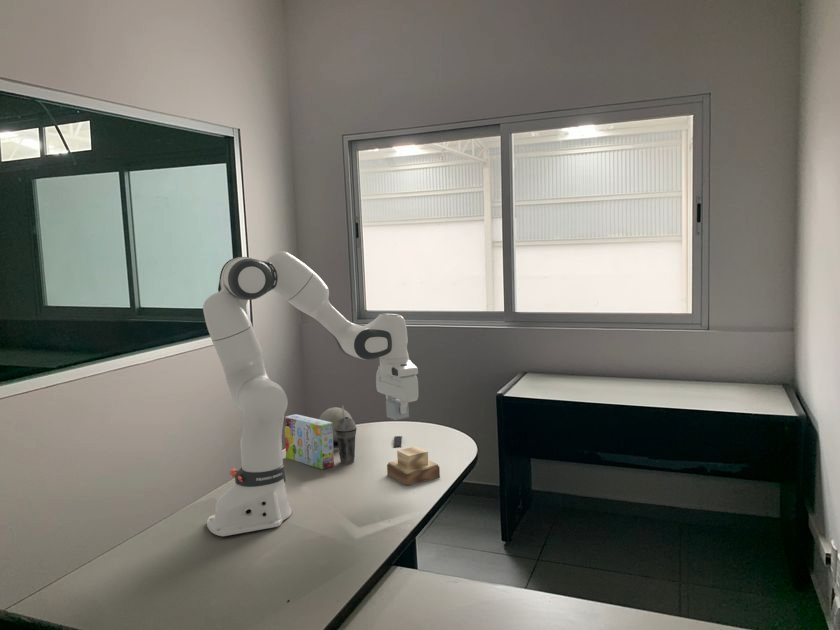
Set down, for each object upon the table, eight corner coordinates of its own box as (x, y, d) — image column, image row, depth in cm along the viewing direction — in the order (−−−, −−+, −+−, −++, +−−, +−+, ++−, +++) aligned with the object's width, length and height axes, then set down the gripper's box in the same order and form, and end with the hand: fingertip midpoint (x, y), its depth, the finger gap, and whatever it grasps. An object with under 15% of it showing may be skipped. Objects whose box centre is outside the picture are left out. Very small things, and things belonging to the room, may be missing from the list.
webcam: (361, 445, 231) (359, 405, 230) (339, 455, 220) (337, 413, 219) (333, 441, 238) (331, 402, 237) (311, 450, 227) (309, 410, 226)
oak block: (409, 468, 191) (408, 456, 191) (397, 462, 197) (397, 450, 197) (428, 464, 195) (427, 451, 195) (416, 458, 201) (416, 446, 200)
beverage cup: (362, 461, 213) (360, 403, 211) (349, 467, 207) (346, 408, 205) (345, 458, 217) (343, 401, 215) (332, 464, 211) (329, 405, 209)
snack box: (335, 466, 209) (333, 421, 208) (322, 470, 205) (320, 425, 204) (298, 454, 224) (295, 412, 222) (284, 458, 219) (282, 416, 218)
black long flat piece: (384, 458, 218) (383, 448, 218) (387, 437, 243) (387, 429, 243) (410, 456, 218) (409, 447, 218) (410, 436, 243) (410, 428, 243)
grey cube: (394, 420, 186) (393, 403, 185) (386, 416, 190) (385, 400, 189) (409, 417, 188) (408, 400, 188) (400, 413, 192) (400, 398, 192)
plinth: (406, 485, 188) (406, 472, 188) (387, 474, 198) (386, 462, 198) (439, 477, 194) (439, 464, 194) (419, 467, 205) (419, 455, 204)
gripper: (369, 363, 195) (372, 407, 196) (402, 372, 177) (405, 419, 179) (387, 360, 198) (390, 403, 199) (421, 369, 181) (423, 415, 182)
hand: (397, 411), depth 189 cm, fingers closed on grey cube, 5 cm apart
